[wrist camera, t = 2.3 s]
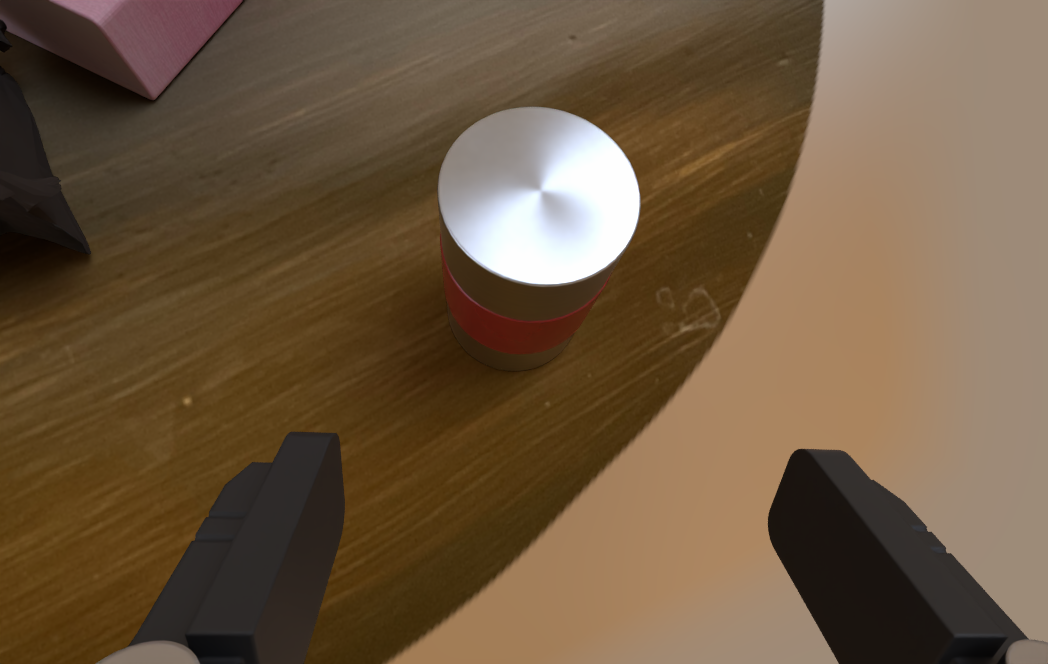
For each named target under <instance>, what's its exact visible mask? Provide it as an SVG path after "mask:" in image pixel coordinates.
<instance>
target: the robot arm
mask: <svg viewBox="0 0 1048 664" xmlns="http://www.w3.org/2000/svg"><path fill="white" fill-rule="evenodd" d="M344 512H345V499H344V487H343V475H342V463H341V451H340V441H339V437H338V435H337V434H336V433H315V432H290V433H288V435H287V436H286V438H285V439H284V441H283V443H282V445H281V447H280V449H279V451H278V453H277V455H276V457H275V459H274V461H273V463H258V462H252V463H251V464H250V465H248V466H247V467H246V468H245V469H244V470H242V471H241V472H240V473H239V474H238V475H236V476H235V477H234V478H233V479H232V480H230V481H229V482H228V483H227V484H226V485H225V486H224V488H223V489H222V491H221V493H220V495H219V496H218V498H217V500H216V501H215V503H214V505H213V506H212V508H211V510H210V511H209V517H206V518H205V520H204V521H203V523H202V525H201V527H200V528H199V530H198V532H197V533H196V538H195V541H192V542H191V543H190V545H189V547H188V548H187V550H186V552H185V553H184V555H183V557H182V559H181V560H180V562H179V564H178V565H177V567H176V569H175V570H174V572H173V574H172V575H171V577H170V579H169V580H168V582H167V584H166V585H165V587H164V589H163V591H162V592H161V594H160V596H159V597H158V599H157V601H156V602H155V604H154V606H153V607H152V609H151V611H150V612H149V614H148V616H147V617H146V619H145V621H144V623H143V624H142V626H141V628H140V629H139V631H138V633H137V634H136V636H135V637H134V639H133V640H132V642H131V643H130V644H129V646H128V647H126V648H124V649H122V650H119V651H117V652H115V653H113V654H111V655H109V656H107V657H106V658H104V659H102V660H100V661H99V662H98V663H96V664H304V660H305V657H306V654H307V650H308V647H309V643H310V640H311V637H312V633H313V630H314V627H315V623H316V620H317V617H318V613H319V610H320V606H321V603H322V600H323V596H324V593H325V590H326V586H327V583H328V579H329V576H330V573H331V569H332V566H333V563H334V559H335V556H336V553H337V549H338V546H339V542H340V539H341V534H342V529H343V523H344ZM926 528H927V527H926V525H925V524H924V523H923V522H922V521H921V520H920V519H919V518H918V517H917V515H916V514H915V513H914V512H913V511H912V510H911V509H910V508H909V507H908V506H907V504H906V503H905V502H904V501H902V500H901V499H900V498H898V497H897V496H895V495H894V494H893V493H891V492H890V491H888V490H887V489H886V488H884V487H883V486H881V485H880V484H878V483H877V482H876V481H874V480H871V479H870V478H869V477H868V476H867V475H866V474H865V473H864V471H863V470H862V469H861V468H860V467H859V466H858V465H857V464H856V462H855V461H854V460H853V459H852V458H851V457H850V456H849V455H848V454H847V453H846V452H844V451H841V450H819V449H818V450H817V449H798V450H796V451H795V452H794V453H793V454H792V455H791V457H790V459H789V461H788V464H787V466H786V469H785V472H784V474H783V477H782V480H781V482H780V485H779V488H778V490H777V493H776V495H775V498H774V500H773V503H772V506H771V508H770V512H769V516H768V531H769V536H770V540H771V543H772V545H773V547H774V549H775V551H776V553H777V555H778V556H779V558H780V560H781V562H782V563H783V565H784V567H785V569H786V570H787V572H788V574H789V576H790V578H791V579H792V581H793V583H794V585H795V587H796V588H797V590H798V592H799V594H800V595H801V597H802V599H803V601H804V602H805V604H806V606H807V608H808V609H809V611H810V613H811V614H812V617H813V618H814V620H815V622H816V624H817V625H818V627H819V629H820V631H821V632H822V634H823V636H824V638H825V640H826V641H827V643H828V645H829V647H830V648H831V650H832V652H833V653H834V655H835V657H836V659H837V661H838V663H839V664H1048V643H1047V642H1044V641H1038V640H1029V639H1028V638H1027V637H1026V636H1025V635H1024V633H1023V632H1022V631H1021V630H1020V629H1019V628H1018V627H1017V626H1016V625H1015V624H1014V623H1013V622H1012V620H1011V619H1010V618H1009V617H1008V616H1007V615H1006V614H1005V612H1004V611H1003V610H1002V609H1001V608H1000V607H999V606H998V605H997V604H996V603H995V602H994V600H993V599H992V598H991V597H990V596H989V595H988V594H987V593H986V592H985V590H983V588H982V587H981V586H980V585H979V584H978V583H977V582H976V581H975V579H974V578H973V577H972V576H971V575H970V574H969V573H968V572H967V571H966V569H965V568H964V567H963V566H962V565H961V564H960V563H959V562H958V561H957V560H956V558H955V557H954V556H953V555H952V554H951V553H950V554H949V553H946V547H945V546H944V545H943V544H942V543H941V542H940V541H939V540H938V539H937V538H936V536H935V535H934V534H933V533H932V532H928V531H927V529H926Z"/></svg>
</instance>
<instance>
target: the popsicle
mask: <svg viewBox="0 0 1048 664" xmlns="http://www.w3.org/2000/svg"><path fill="white" fill-rule="evenodd" d="M242 1H243V0H0V20H2V21H4V23H5V24H6V26H7V30H6V31H8V32H10V33H12V34H15V35H17V36H19V37H21V38H23V39H25V40H27V41H29V42H31V43H33V44H35V45H37V46H40V47H42V48H44V49H46V50H48V51H50V52H52V53H54V54H56V55H58V56H60V57H62V58H65V59H67V60H69V61H71V62H73V63H75V64H77V65H79V66H81V67H83V68H85V69H88V70H90V71H92V72H94V73H96V74H98V75H100V76H102V77H104V78H106V79H108V80H110V81H113V82H115V83H117V84H119V85H121V86H123V87H125V88H127V89H129V90H131V91H133V92H135V93H138V94H140V95H142V96H144V97H146V98H148V99H150V100H155V99H156V98H157V97H158V96H159V95H160V94H161V92H162V91H163V90H164V89H165V88H166V87H167V86H168V85H169V83H170V82H171V81H172V80H173V79H174V78H175V77H176V76H177V74H178V73H179V72H180V71H181V70H182V69H183V68H184V66H185V65H186V64H187V63H188V62H189V61H190V60H191V59H192V57H193V56H194V55H195V54H196V53H197V52H198V51H199V50H200V48H201V47H202V46H203V45H204V44H205V43H206V42H207V41H208V39H209V38H210V37H211V36H212V35H213V34H214V33H215V32H216V30H217V29H218V28H219V27H220V26H221V25H222V24H223V23H224V21H225V20H226V19H227V18H228V17H229V16H230V15H231V14H232V12H233V11H234V10H235V9H236V8H237V7H238V6H239V5H240V3H241V2H242Z"/></svg>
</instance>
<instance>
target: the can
mask: <svg viewBox="0 0 1048 664" xmlns="http://www.w3.org/2000/svg"><path fill="white" fill-rule="evenodd" d="M437 190H438V207H439V219H440V230H441V232H440V247H441V258H442V269H443V279H444V290H445V295H446V300H447V310H448V318H449V323H450V326H451V329H452V332H453V334H454V336H455V338H456V339H457V341H458V342H459V344H460V345H461V346H462V347H463V349H464V350H465V351H466V352H467V353H468V354H470V355H471V356H472V357H473V358H475V359H476V360H478V361H479V362H481V363H483V364H485V365H487V366H490V367H492V368H495V369H500V370H505V371H524V370H529V369H533V368H536V367H539V366H542V365H544V364H546V363H548V362H549V361H551V360H552V359H554V358H555V357H556V356H557V355H558V354H560V353H561V352H562V350H563V349H564V348H565V347H566V346H567V344H568V342H569V341H570V339H571V338H572V336H573V335H574V333H575V331H576V330H577V329H578V328H579V327H580V325H581V324H582V322H583V321H584V319H585V317H586V316H587V314H588V313H589V311H590V309H591V308H592V306H593V305H594V303H595V301H596V300H597V298H598V297H599V295H600V293H601V292H602V290H603V289H604V287H605V285H606V284H607V282H608V280H609V278H610V276H611V274H612V271H613V270H614V268H615V266H616V265H617V263H618V262H619V260H620V258H621V257H622V255H623V253H624V252H625V250H626V249H627V247H628V245H629V244H630V242H631V240H632V238H633V236H634V234H635V231H636V228H637V225H638V221H639V216H640V209H641V206H640V191H639V185H638V181H637V178H636V175H635V172H634V170H633V168H632V166H631V163H630V161H629V160H628V158H627V157H626V155H625V153H624V152H623V151H622V149H621V148H620V147H619V146H618V145H617V143H616V142H615V141H614V140H613V139H612V138H611V137H610V136H609V135H608V134H606V133H605V132H604V131H602V130H601V129H600V128H599V127H597V126H595V125H594V124H592V123H591V122H589V121H587V120H585V119H583V118H581V117H579V116H577V115H574V114H571V113H568V112H565V111H562V110H557V109H553V108H545V107H519V108H512V109H508V110H503V111H500V112H497V113H494V114H492V115H489V116H487V117H485V118H483V119H481V120H479V121H478V122H476V123H475V124H473V125H472V126H470V127H469V128H468V129H467V130H466V131H465V132H463V133H462V134H461V135H460V136H459V138H458V139H457V140H456V141H455V142H454V143H453V145H452V146H451V148H450V150H449V151H448V153H447V154H446V157H445V159H444V161H443V163H442V166H441V170H440V174H439V179H438V187H437Z"/></svg>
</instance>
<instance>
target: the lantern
mask: <svg viewBox="0 0 1048 664" xmlns="http://www.w3.org/2000/svg"><path fill="white" fill-rule="evenodd" d="M6 30H7V26H6V24H5V23H4V21H2V20H0V50H1V51H2V52H5V51H7V50H8V49H10V47H12V45H11V43H10V42H9V41H8V40H7V38H6V37H5V36H4V33H5V31H6ZM60 181H61V180H59V178H58V177H55V176H53V175H52V173H51V170H50V167H49V164H48V161H47V158H46V155H45V152H44V149H43V145H42V142H41V138H40V135H39V131H38V129H37V126H36V123H35V120H34V117H33V115H32V113H31V111H30V109H29V107H28V105H27V104H26V102H25V99H24V97H23V94H22V91H21V89H20V87H19V85H18V83H17V82H16V81H15V80H14V78H13V77H12V76H11V75H9V74H8V73H6V72H5V70H4V69H3V68H2V67H1V66H0V235H2V234H4V233H7V232H15V233H20V234H25V235H28V236H33V237H36V238H42V239H46V240H49V241H51V242H55V243H57V244H59V245H62V246H65V247H67V248H70V249H73V250H76V251H78V252H82V253H86V254H89V255H90V254H91V251H90V248H89V245H88V243H87V241H86V238H85V237H84V235H83V233H82V231H81V229H80V227H79V225H78V223H77V221H76V220H75V218H74V216H73V214H72V212H71V210H70V208H69V206H68V204H67V202H66V200H65V198H64V196H63V194H62V192H61V185H60V184H59V182H60Z"/></svg>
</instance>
